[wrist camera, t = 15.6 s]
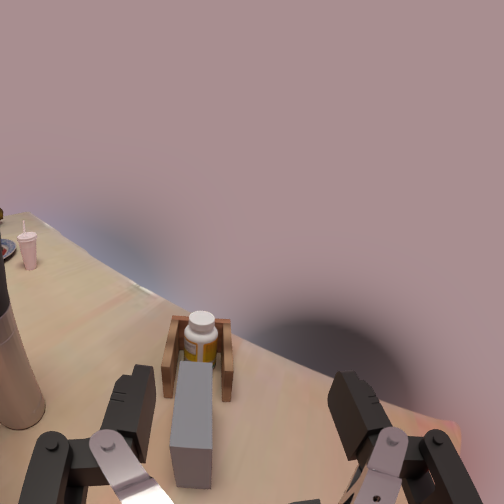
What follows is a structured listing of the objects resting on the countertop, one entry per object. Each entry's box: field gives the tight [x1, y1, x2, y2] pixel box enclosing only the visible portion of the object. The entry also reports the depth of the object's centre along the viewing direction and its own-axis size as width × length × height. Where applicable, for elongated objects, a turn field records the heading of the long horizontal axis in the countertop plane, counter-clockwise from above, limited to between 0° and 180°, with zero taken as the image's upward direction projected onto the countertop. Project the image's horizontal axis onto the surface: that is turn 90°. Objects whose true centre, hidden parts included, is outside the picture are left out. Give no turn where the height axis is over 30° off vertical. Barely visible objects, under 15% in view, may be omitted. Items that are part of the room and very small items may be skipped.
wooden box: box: [161, 316, 234, 402], centre depth 46 cm, size 13×10×6 cm
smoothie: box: [17, 220, 37, 270], centre depth 69 cm, size 6×6×14 cm
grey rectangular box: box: [169, 361, 212, 489], centre depth 32 cm, size 13×4×10 cm, turn 5°
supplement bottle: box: [184, 311, 218, 369], centre depth 48 cm, size 5×5×10 cm
